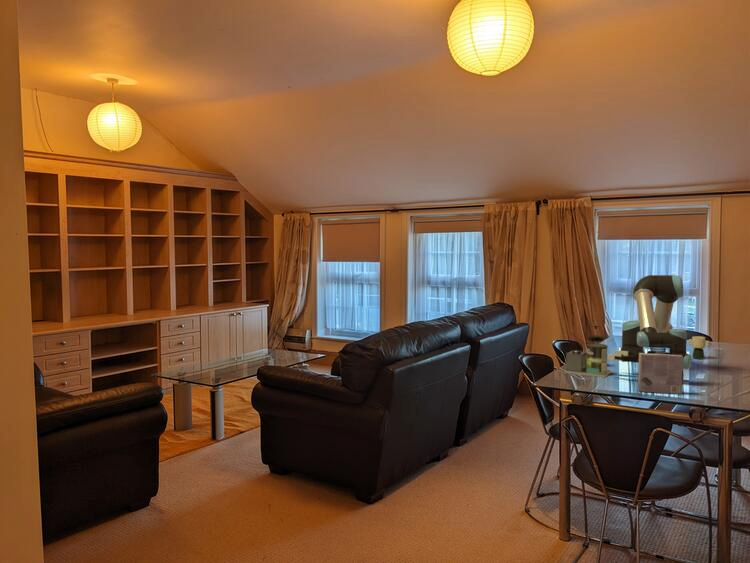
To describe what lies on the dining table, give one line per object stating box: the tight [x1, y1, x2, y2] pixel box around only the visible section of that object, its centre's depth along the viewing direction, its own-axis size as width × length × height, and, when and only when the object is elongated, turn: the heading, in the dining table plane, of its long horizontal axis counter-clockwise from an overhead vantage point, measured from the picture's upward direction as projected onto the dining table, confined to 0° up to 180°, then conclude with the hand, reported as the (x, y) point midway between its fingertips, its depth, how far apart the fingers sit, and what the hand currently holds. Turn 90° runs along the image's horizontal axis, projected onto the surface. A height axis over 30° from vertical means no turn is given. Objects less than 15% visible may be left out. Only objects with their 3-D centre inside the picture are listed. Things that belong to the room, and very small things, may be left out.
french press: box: [586, 325, 605, 344], centre depth 332 cm, size 12×9×23 cm
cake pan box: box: [637, 352, 685, 395], centre depth 272 cm, size 19×5×18 cm, turn 77°
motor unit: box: [563, 349, 612, 378], centre depth 315 cm, size 14×21×11 cm
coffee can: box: [586, 343, 608, 374], centre depth 312 cm, size 10×10×14 cm
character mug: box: [688, 335, 710, 359], centre depth 355 cm, size 11×7×13 cm, turn 50°
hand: (611, 354), depth 308 cm, fingers open, 13 cm apart
